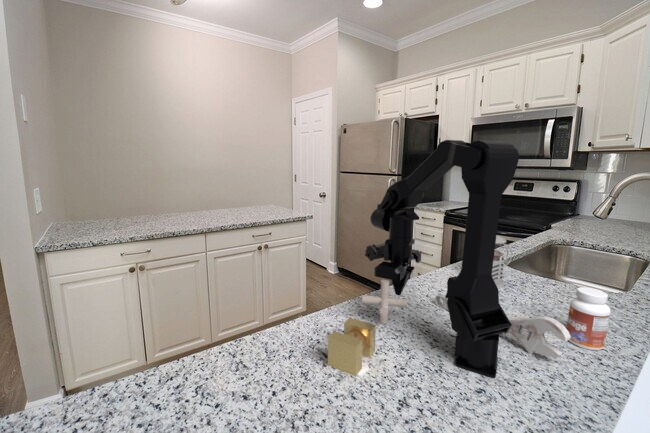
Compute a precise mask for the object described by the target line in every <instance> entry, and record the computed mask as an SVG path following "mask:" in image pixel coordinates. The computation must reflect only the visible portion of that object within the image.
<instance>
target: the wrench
mask: <svg viewBox="0 0 650 433" xmlns="http://www.w3.org/2000/svg"><path fill="white" fill-rule="evenodd" d="M445 296H446V294H439V295H436V296H435V297H434V303H435V305H436V306H438V307H440V308H441V309H444V310H447V311H449V309H448V305H447V300H448V298H445ZM441 300H442V302H441ZM507 318H508V319H509V321H510V323H511V325H512V326H511V328H510V329H509V331H508V333H507V334H509V335H510V336H511V337H513V338H515V340H517V341H518V342H519V343H520V344H521V345H522V346H523V347H524V350H525V351H526V352H527V353H528V354H529V355H532V354H535V353H536V354H539V355H541V356H544V357H549V358H559V357H561V356H562V354H563V352H562V351H560V350H559V349H558V348H557V347H556V346H554V345H553V344H550V342H547V339H546V337H545V333H547V332H551V334H554V335H555V336H556V337H558V338H559V339H560V340H562V341H563V342H568V341H569V340H570V338H571V336H570V334H569V331H568V330H567V329H566V328H567V327H565V325H564V324H563V323H561V322H560V321H558V320H557V319H555V318H552V317H550V316H545V315H544V316H537V317H529V318H528V317H527V318H525V317H524V318H523V317H522V318H515V317H510V316H507Z"/></svg>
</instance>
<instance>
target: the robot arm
mask: <svg viewBox="0 0 650 433" xmlns="http://www.w3.org/2000/svg"><path fill="white" fill-rule="evenodd" d="M519 158H520V154H519V151H518V149H517V148H516V147H515V146H514V144H512V143H510V142H507V141H496V140H494V141H493V140H491V141H490V140H476V141H475V140H474V141H472V142H466V141H464V140H455V139H454V140H453V139H445V140H443V141H441V142H439V143H438V145H437V146H436V149H435V150H434V151H433V152H432V153H431V154H430V155H429V156H428V157H427V158H426V159H425V160H424V161H423V162H422V163H421V164H419V166H418V167H417V168H416V169H415V170H414V171H412V173H411V174H410V175H408V176H407V177H406V178H403V179H401V180H399V181H396V182H395V183H392V184H391V185H390V186H388V188H387V189H386V193H385V194H384V196H383V198H382V200H381V202H380V203H378V204H377V205H376V206H377V207H376V209H374V210H373V211H372V213H371V216H370V224H371V225H372V226H373V227H375V228H377V229H380V230H382V231H385V232H388V238H387V239H386V240H385V242H384V243H383V242H382V243H380V244H372V245H367V246H366V249H365V253H364V256H365V257H366V258H367V259H368V261H369V262H372V261H375V260H377V259H383V261H382V262H381V263H379V264H377V266H375V267H374V272H373V273H374V277H376V278H381V279H386V280H389V281H391V282H392V286H393V289H394V292H395V293H394V294H395V295H396V296H401V294H402V293H403V291H404V289H405V287H406V285H407V283H408V281H409V279H410V277H411V275H412V274H413V272H414V270H415V266H412V265H410V263H411V262H412V261H413V260H415V263H417V264H418V263H420V262H421V261H422V253H421V252H420V251H419V249H413V245H414V244H415V242H416V240H415V238H413V236H414V235H413V234H414V221H418V220H420V216H419V215H418V214H417V213H416V212H415V210H414V208H417V206H418V205H419V204H420V203H421V201H422V200H423V199H424V196H425V194H424V193H425V192H426V191H427V190H428V189H429V188H430V187H432V185H434V184H435V183H436V182H437V181H438V180H439V179H441V178H443V176H445V175H446V174H447V173H448V172H449V171H450V170H452V169H453V168H454V167H458V168H459V167H460V168H461V180H462V182H463V183H464V186H465V188H466V190H467V192H468V201H467V202H468V204H467V211H466V212H467V213H466V222H465V223H466V224H465V231H464V240H463V241H464V243H463V251H462V260H461V261H462V262H461V268H460V269H461V270H460V272H459V274H458V275H456V276H451V277H447V278H448V279H447V281H446V282H447V283H446V294H445V298H448V300H447V305H448V309H449V310H448V313H449V314H448V315H449V318H450V319H449V320H450V324H451V330H452V331H454V332H455V334H456V335H455V339H454V340H455V341H454V354H453V355H454V357H455V362H454V365H455V366H457V367H460V368H462V369H465V370H467V371H471V372H475V373H477V374H481V375H483V376H487V377H491V378H493V379H494V378H497V368H498V361H499V356H498V354H499V353H498V352H499V343H500V335H502V334H509V333H508V331H509V329H510V328H511V326H512V325H511V323H510V321H509V319H508V318H507V317H508V316H507V315H506V312H505V311H504V309H503V307H502V306H501V304H500V299H499V298H500V297H499V295H500V294H499V292H500V291H499V288H497V286H496V284H495V282H494V280H493V278H492V267H493V259H494V251H496V244H495V243H496V235H498V234H497V233H498V228H499V226H498V225H499V217H500V209H501V202H502V197H503V194H504V193H505V192H506V190H507V189H508V187H509V185H510V184H511V182H512V181H513V180H514V177H515V174H516V170H517V167H518V164H519Z"/></svg>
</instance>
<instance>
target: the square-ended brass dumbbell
mask: <svg viewBox="0 0 650 433" xmlns="http://www.w3.org/2000/svg"><path fill="white" fill-rule="evenodd" d="M376 329H377V325H375V324H373V323H369V322H366V321H362V320H359V319H356V318H353V317H349V318H348V319H347V320H345V321H344V323H343V333H342V332H339V331H336V330H334V331H333V332H332V333H331V334H330V335H328V336H327V366H328V367H331V368H334V369H336V370H338V371H341V372H343V373H346V374H349V375H351V376H353V377H357V376H358V375H359V373H360V372H361V370H363V368H362V367H363V366H362V365H363V357H366V358H368V359H370V358H371V357H372V356H373V355H374V354H375V352H376V333H377V332H376Z"/></svg>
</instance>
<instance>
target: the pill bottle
mask: <svg viewBox="0 0 650 433" xmlns="http://www.w3.org/2000/svg"><path fill="white" fill-rule="evenodd" d="M575 295H576V297H574V298H572V299H571V300H570V303H569V309H568V316H567V323H566V327H565V328H566V329H567V330H568V331H569V334H570V336H571V338H570V340H568V341H569V343H572V344H573V345H575V346H577V347H580V348H582V349H584V350H585V349H586V350H588V351H600V350H603V349H604V348H605V345H606V340H607V333H608V328H609V323H610V318H611V309H610V308H611V307H609V305H608V304H607V302H608V299H609V298H608V297H609V295H608V294H607V293H606V292H605V291H602V290H600V289H596V288H593V287H585V286H581V287H577V289H576V292H575Z"/></svg>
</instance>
